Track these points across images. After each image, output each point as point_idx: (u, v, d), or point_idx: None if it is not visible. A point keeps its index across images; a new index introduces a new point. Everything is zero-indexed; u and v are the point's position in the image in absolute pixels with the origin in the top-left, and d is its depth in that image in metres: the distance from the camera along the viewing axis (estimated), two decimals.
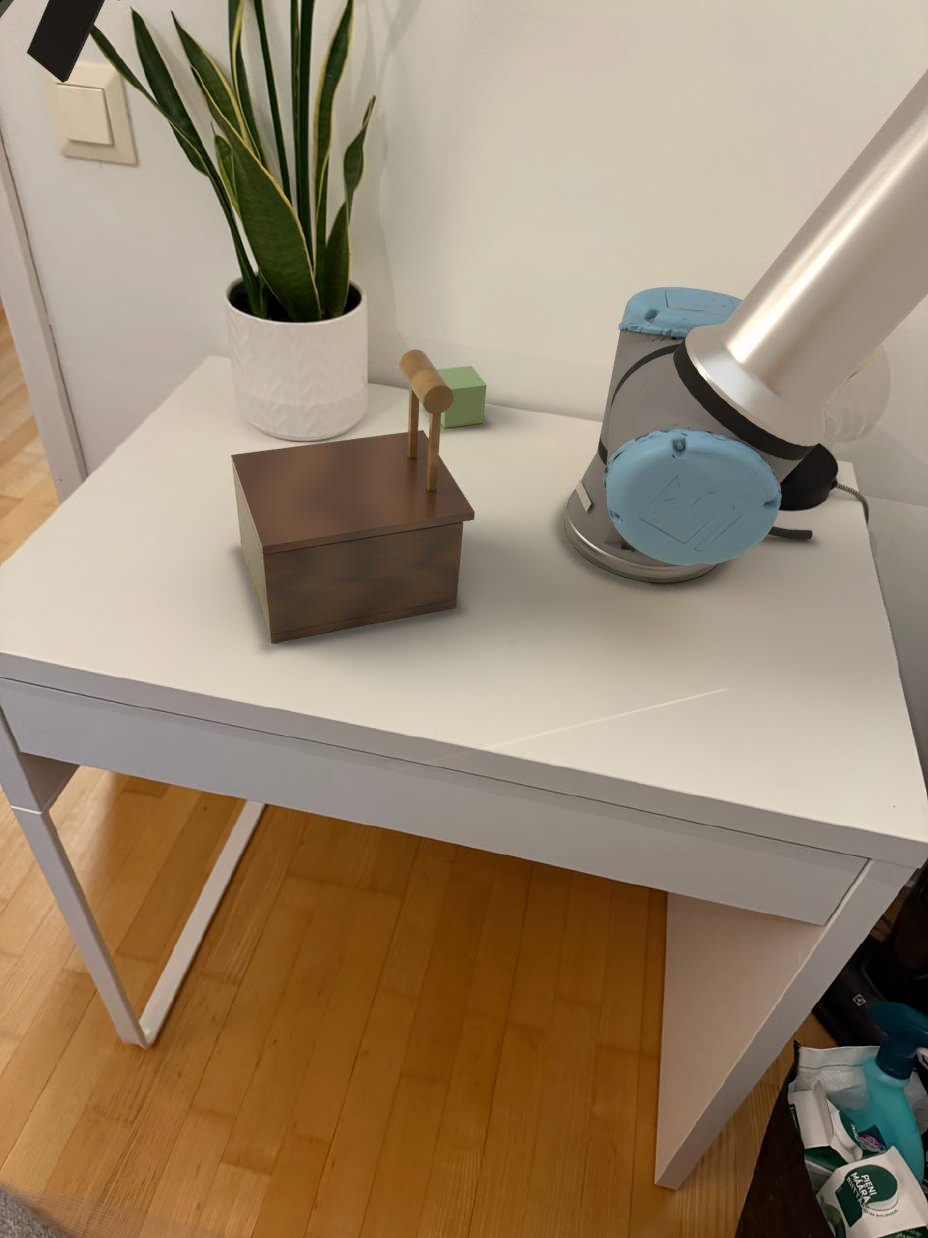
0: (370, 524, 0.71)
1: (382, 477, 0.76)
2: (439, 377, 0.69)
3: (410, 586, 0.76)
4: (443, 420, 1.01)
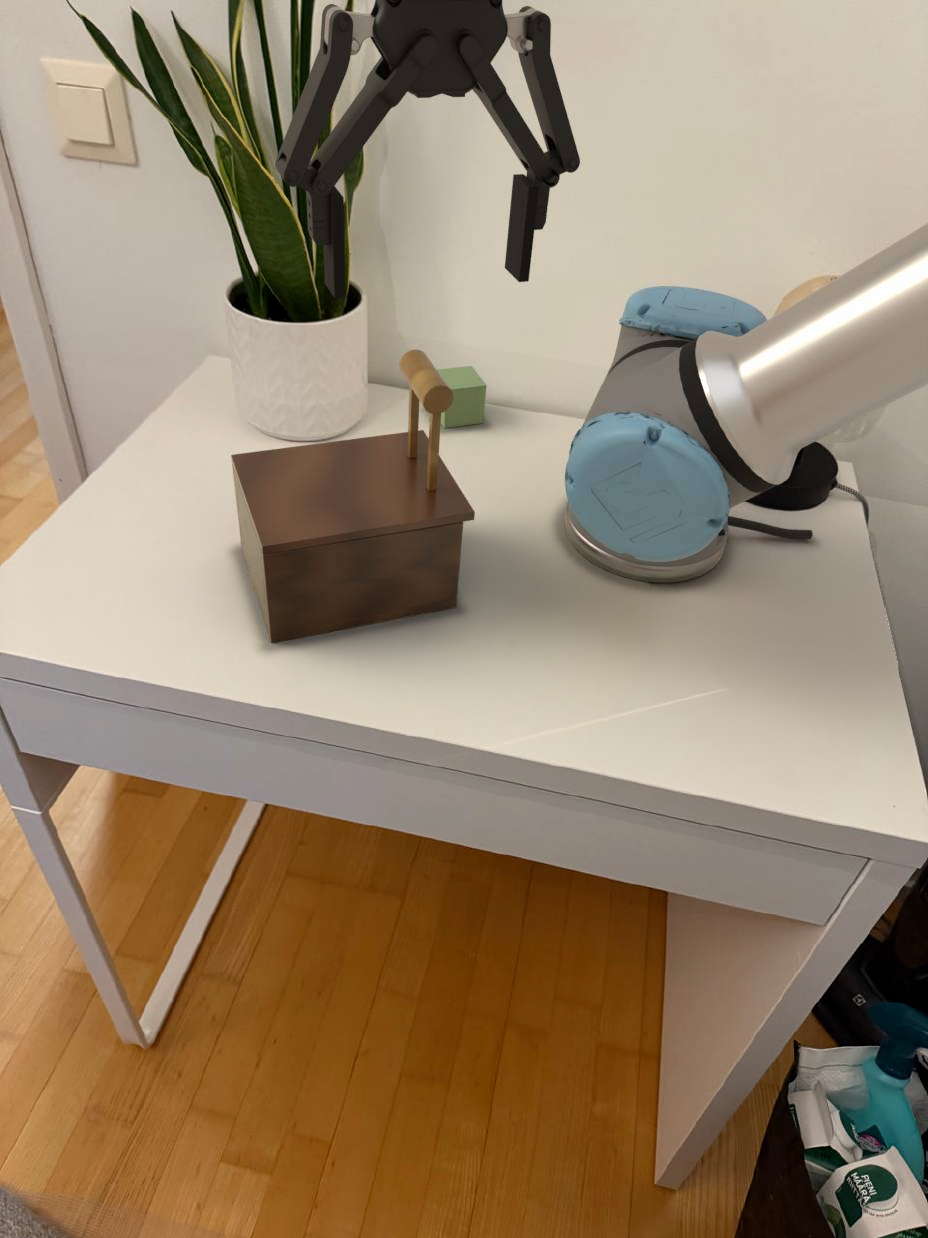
0: (370, 524, 0.71)
1: (382, 477, 0.76)
2: (439, 377, 0.69)
3: (410, 586, 0.76)
4: (443, 420, 1.01)
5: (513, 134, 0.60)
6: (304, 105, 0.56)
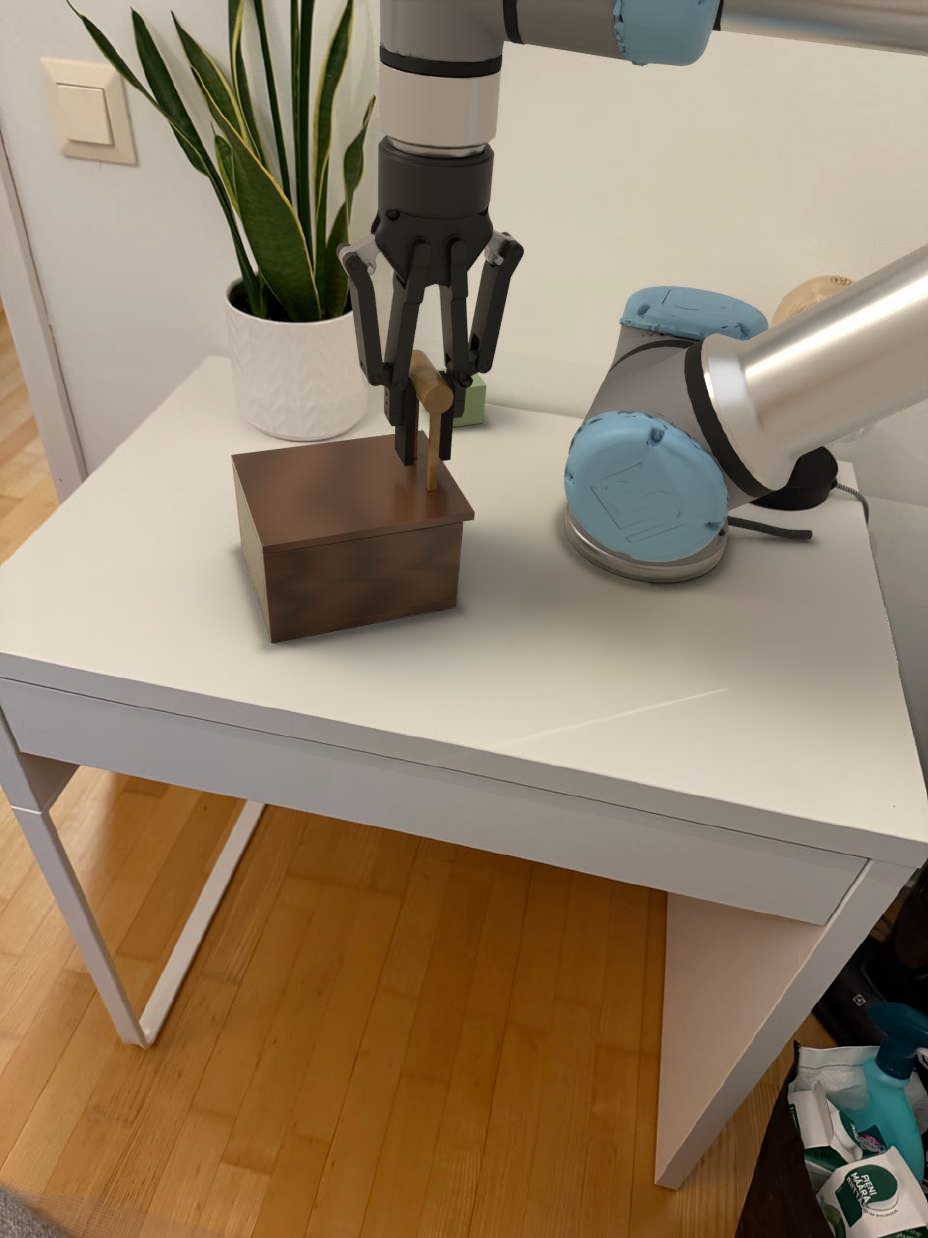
0: (370, 524, 0.71)
1: (382, 477, 0.76)
2: (439, 377, 0.69)
3: (410, 586, 0.76)
4: None
5: (454, 332, 0.68)
6: (358, 325, 0.66)
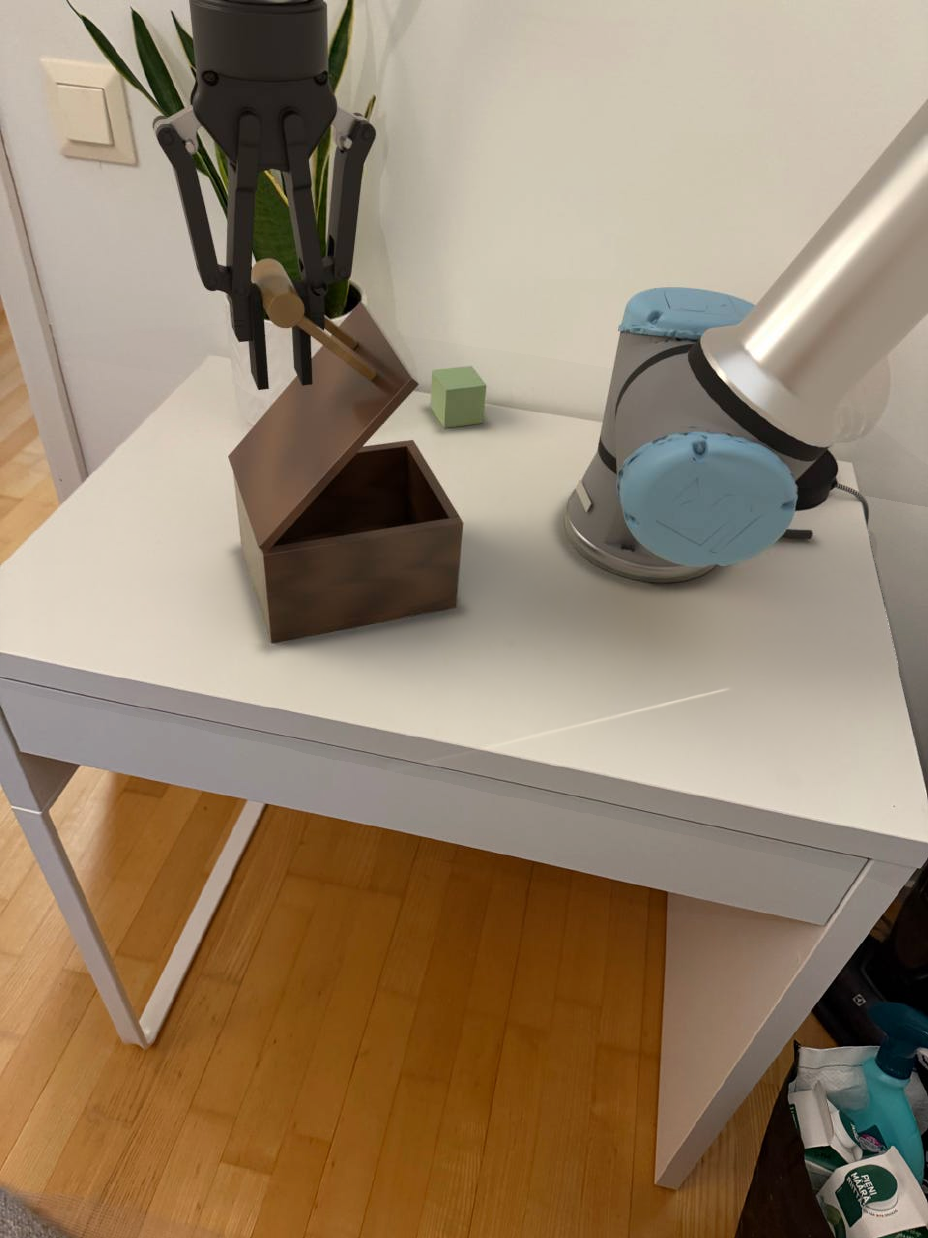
0: (330, 462, 0.66)
1: (334, 393, 0.69)
2: (273, 286, 0.61)
3: (410, 586, 0.76)
4: (443, 420, 1.01)
5: (301, 229, 0.59)
6: (186, 217, 0.58)
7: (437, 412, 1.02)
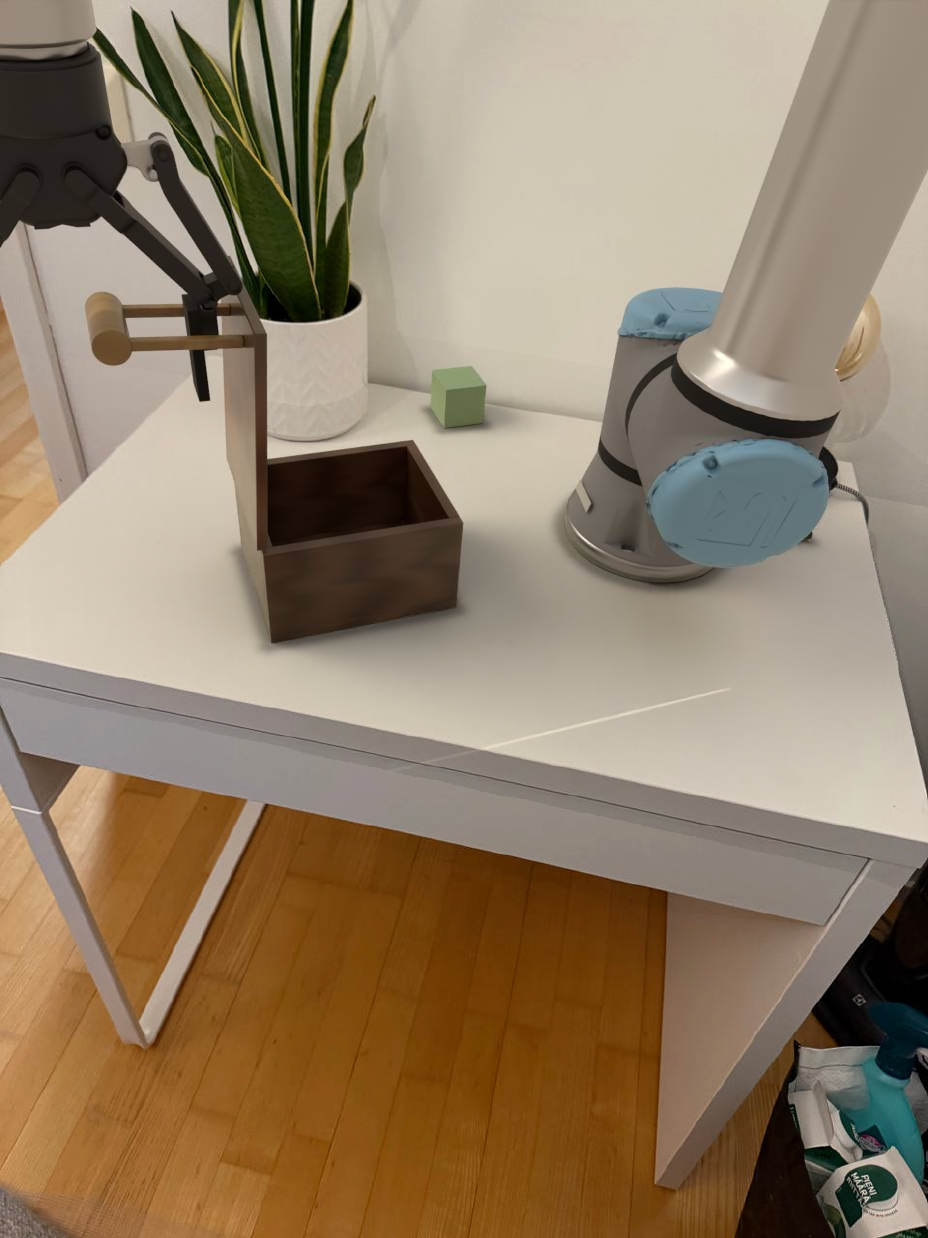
0: (254, 447, 0.63)
1: (237, 370, 0.65)
2: (91, 332, 0.58)
3: (410, 586, 0.76)
4: (443, 420, 1.01)
5: (157, 261, 0.58)
6: None
7: (437, 412, 1.02)
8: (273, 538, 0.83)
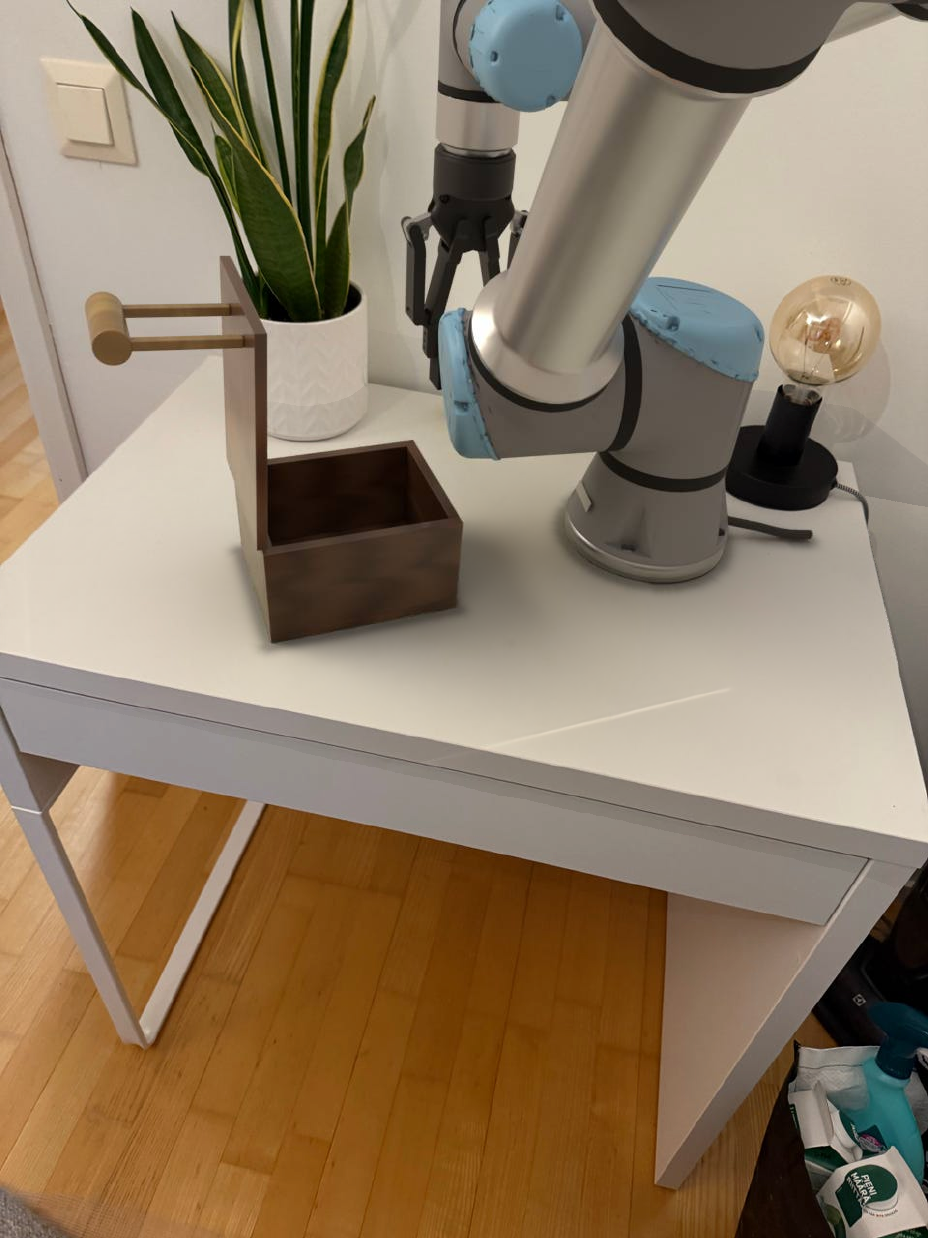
0: (254, 447, 0.63)
1: (237, 370, 0.65)
2: (91, 332, 0.58)
3: (410, 586, 0.76)
4: None
5: None
6: (410, 278, 0.91)
7: None
8: (273, 538, 0.83)
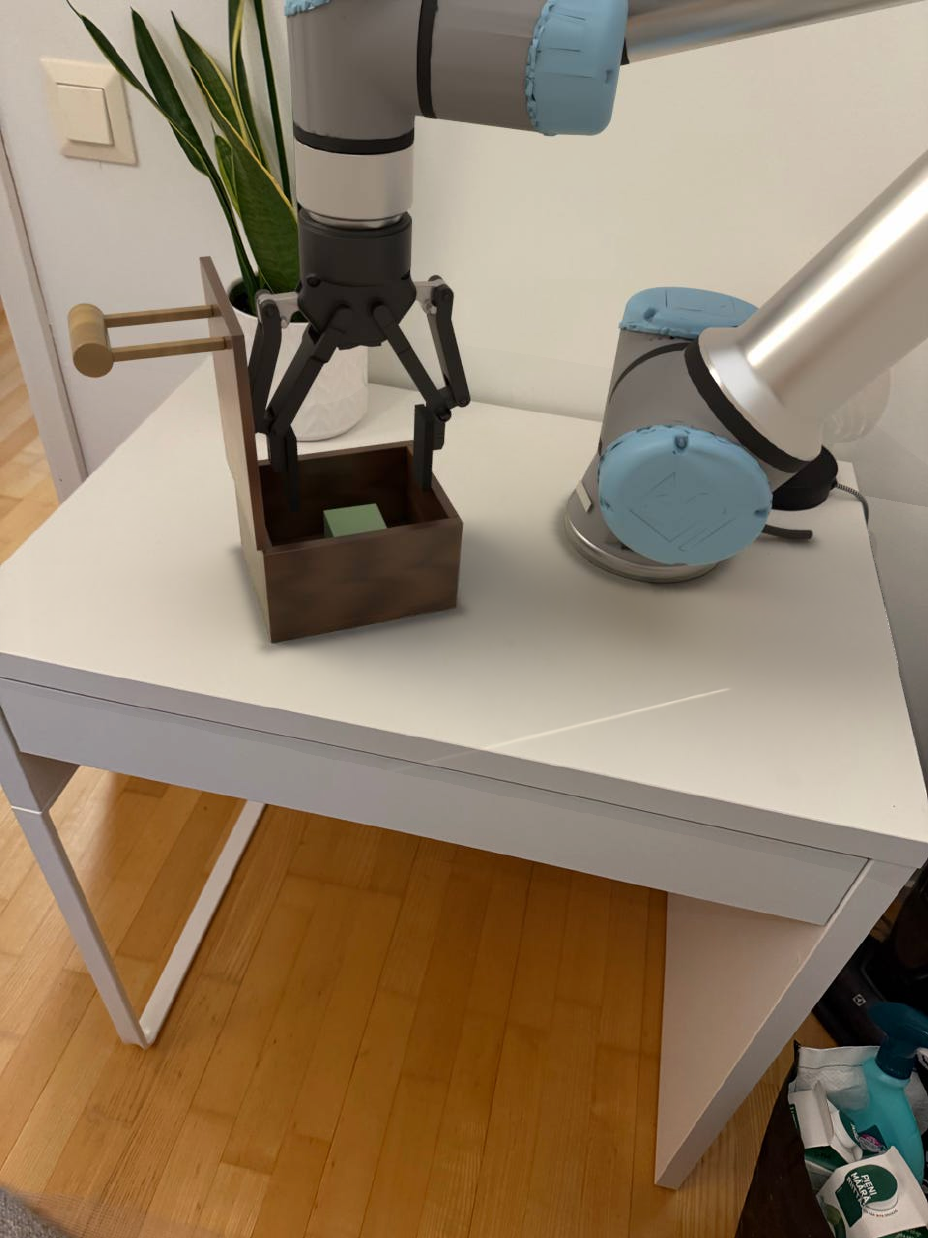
0: (243, 449, 0.63)
1: (223, 371, 0.65)
2: (72, 345, 0.59)
3: (410, 586, 0.76)
4: None
5: (414, 378, 0.69)
6: (252, 370, 0.66)
7: None
8: (273, 538, 0.83)
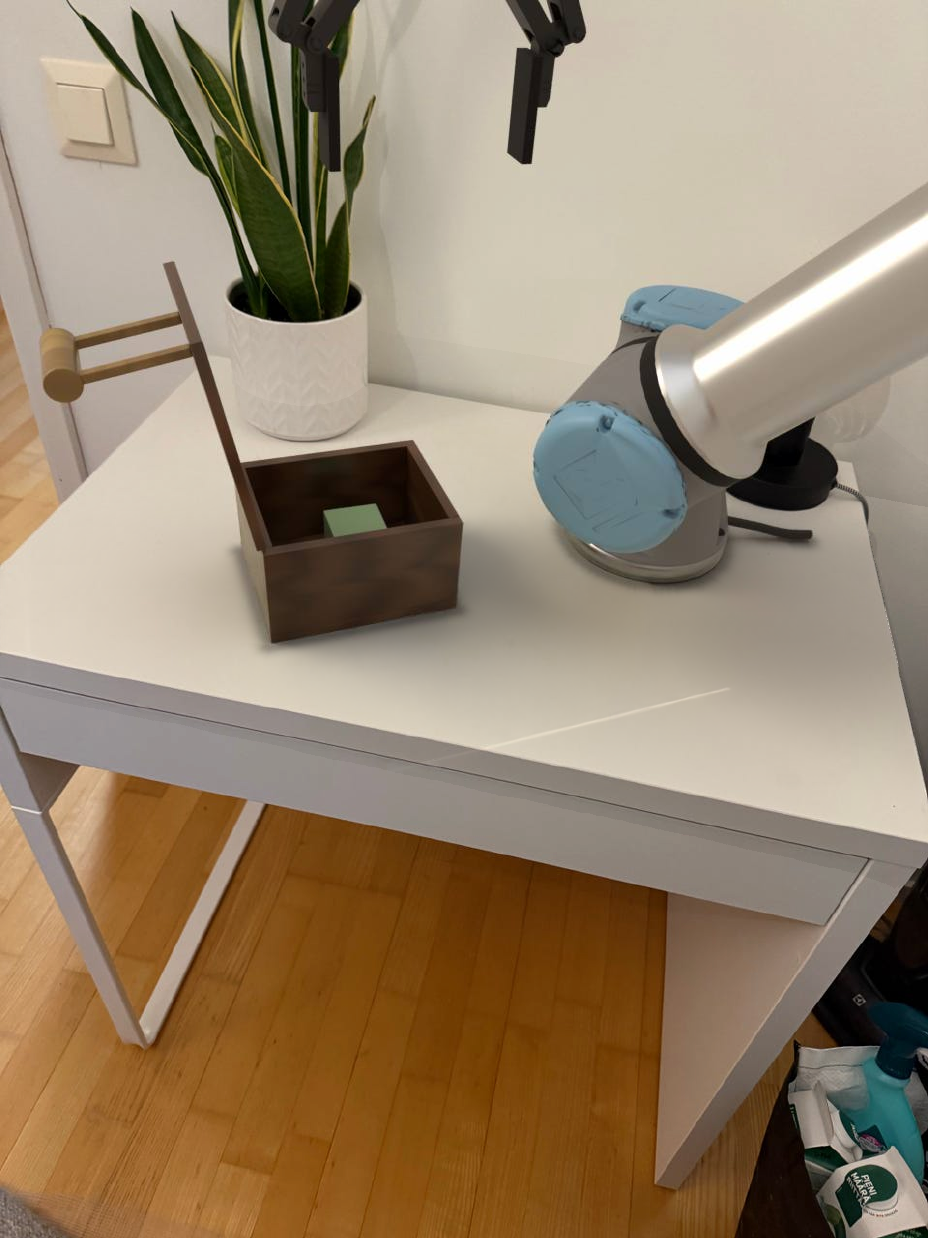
0: None
1: None
2: (42, 373, 0.59)
3: (410, 586, 0.76)
4: None
5: None
6: None
7: None
8: (273, 538, 0.83)
